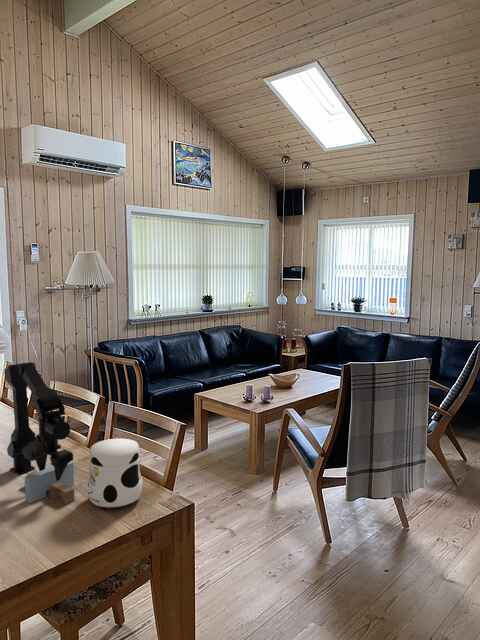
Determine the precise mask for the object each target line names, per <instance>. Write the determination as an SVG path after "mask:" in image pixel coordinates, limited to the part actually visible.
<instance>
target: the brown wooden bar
mask: <svg viewBox="0 0 480 640" xmlns="http://www.w3.org/2000/svg"><path fill="white" fill-rule="evenodd" d="M36 472H38V471H37V470H35V471H32V472H28V473H27V476H28V475H30V474H33V473H36ZM50 486H51V489H49V490H47V491H46V496H49V497H51V498H53V499H55V500H57V501H59V502H61V503H62V504H65V505H69V504H70V503H73V502H75V488H73V487H72V486H71V487H69V486H67V485H65V484H63V483H60V482H56V483H54V484H51V485H50Z"/></svg>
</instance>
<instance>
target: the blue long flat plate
mask: <svg viewBox="0 0 480 640" xmlns="http://www.w3.org/2000/svg"><path fill="white" fill-rule="evenodd" d="M74 472H75V471H74V462H72V461H71V462H69V463H68V464H67V466H66V468H65V470H64V472H63V474H62V476H61V478H60V480H58V481H56V477H55V469H54V466H52V465H51V466H50V467H48V468H45V469H44V470H41V471H39V470H38V471H37V472H36V473H33V474H30V475H28V474H27V475H25V476H24V490H25V491H24V495H25V501H26V502H28V503H30V504H32V503H34V502H37V501H39V500H41V499H45V498H47V494H46V491H47V490H49V489H51V486H50V485H51V484H54V483H56V482H60V483H63V484H65V485H67V486H69V487H71V488H72V487H74V486H75V479H74V478H75V476H74V475H75V473H74Z"/></svg>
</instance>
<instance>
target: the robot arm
mask: <svg viewBox="0 0 480 640" xmlns="http://www.w3.org/2000/svg"><path fill="white" fill-rule="evenodd" d="M36 367H37V365H36V364H35V362H32V361H31V362H30V361H28V362H22V363H21V362H20V363H13V364H8V365H7V366H6V368H4V377H5V379H6V382H7V384H8V385H9V386H10V387H11V390H12V400H13V401H12V406H13V415H14V416H13V417H14V429H13V431H12V433H11V435H10V442H9V444H8V446H7V448H6V452H7V456H9V457H10V458H11V459H13V467H11V468H9V470H10V472H13V473H15V474H17V475H21V474H25V473H28V472H30V471H32V470H36V467H35V466H34V465H32V462H33V461H35V463H36V465H37V468H38V472H39V471H41V470H44V469H46V464H47V460H48V456H50V458H49V459H50V460H49V461H50V465H51V467H52V466H54V469H55V477H56V481H58V480H60V478H61V476H62V474H63V472H64V470H65V468H66V466H67V464H68V463H69V462H72V461H73V460H74V453H73V452H71V451H69V450H67V449H62V445H61V444H59V441H61V440H65V439H67V437H68V436H69V435H70V432H71V426H70V424H69V423H68V422H66V421H65V418H64V417H62V416H65V415H66V408H65V405H64V403H63V401H62V399H61V397H60V395H59V394H58V393H57V391H56V390H55V389H53V388H51V387H48V386H47V384H46V383H45V381H44V380H43V378H42V376H41V375H40V373H39V371H38V370H37V368H36ZM27 388H29V390H30V391H31V394H32V395H33V401H32V402H33V403H32V404H33V407H34V410H35V412H36V415H37V417H38V434H36V433H35V431H33V430H32V429H31V427H30V418H29V416H30V415H29V403H28V392H27V391H28V389H27ZM60 449H62V450H60ZM58 450H60V451H58Z"/></svg>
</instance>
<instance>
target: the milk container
mask: <svg viewBox="0 0 480 640" xmlns="http://www.w3.org/2000/svg"><path fill="white" fill-rule="evenodd" d="M139 447H140V446H139V443H138V442H137V441H135V440H133V439H129V438H110V439H104V440H100V441H98V442H95V443H94V444H92V446H91V447H90V450H89V452H90V453H89V479H88V482H87V495H88V499H89V501H90V503H92V505H94V506H97V507H98V508H101V509H121V508H124V507H127V506H129V505H132V504H133V503H135V502H136V501H138V500H139V499H140V497H141V495H142V493H143V487H144V486H143V485H144V483H143V477H142V475H141V474H142V473H141V469H140V468H141V467H140V466H141V465H140V464H141V463H140V462H141V457H140V448H139Z"/></svg>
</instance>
